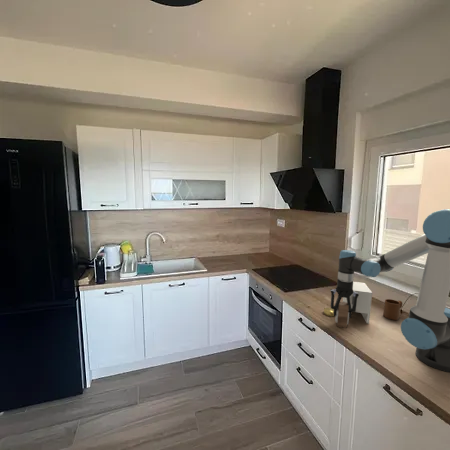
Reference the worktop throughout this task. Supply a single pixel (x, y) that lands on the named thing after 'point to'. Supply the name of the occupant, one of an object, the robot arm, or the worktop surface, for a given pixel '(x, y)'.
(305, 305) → the worktop surface
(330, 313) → the brass token
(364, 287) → the cabinet
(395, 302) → the mug
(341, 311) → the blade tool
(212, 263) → the worktop surface
